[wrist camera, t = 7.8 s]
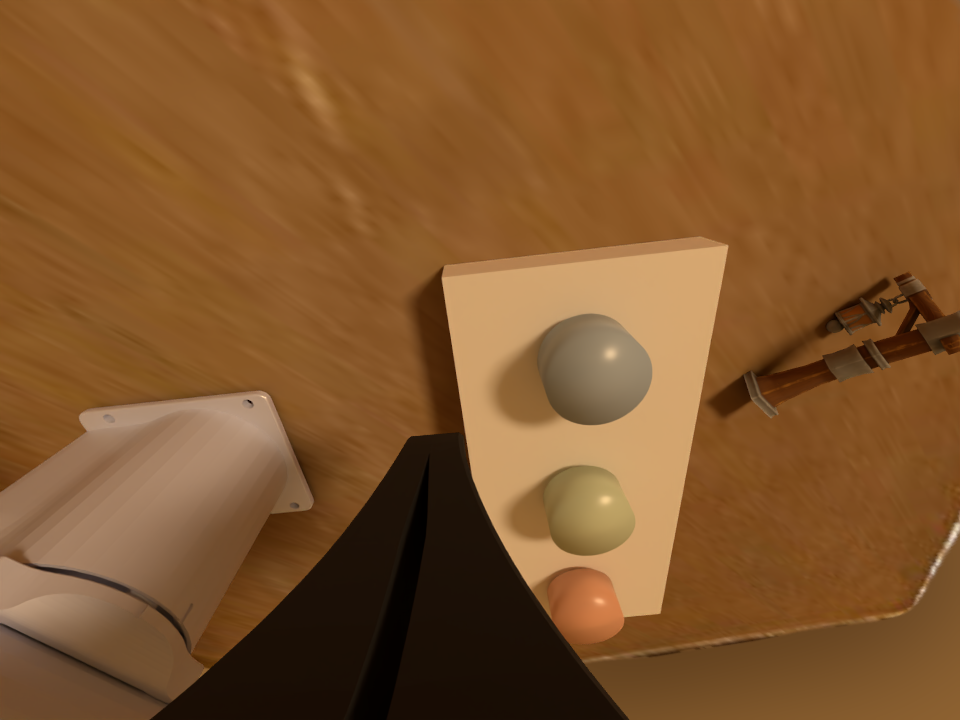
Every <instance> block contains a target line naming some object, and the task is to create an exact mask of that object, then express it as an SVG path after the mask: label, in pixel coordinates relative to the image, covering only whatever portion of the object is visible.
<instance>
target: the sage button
mask: <svg viewBox="0 0 960 720" xmlns="http://www.w3.org/2000/svg"><path fill="white" fill-rule="evenodd" d="M543 503H544V507H545V512H546V516H547V520H548V525H549V529H550V534H551V537H552V540H553V542H554V543H555V544H556V546H557V547H559V548H560V549H561V550H563V551H565V552H567V553H570V554H574V555H579V556H593V555H599V554H603V553H606V552H609V551H611V550H613V549H615V548H617V547H619V546H620V545H622V544H623V543H624V542H625V541H626V540H627V539H628V538H629V537H630V536H631V534H632V533H633V530H634V528H635V515H634V513H633V511H632V509H631V507H630V504H629V502H628V500H627V498H626V496H625V494H624V492H623V490H622V488H621V486H620V483H619V481H618V480H617V478H616V477H615V476H614V475H613V474H612V473H611V472H609V471H608V470H606V469H603V468H600V467H596V466H579V467H574V468H571V469H568V470H565V471H563V472H561V473H560V474H558V475H557V476H555V477H554V478H553V479H552V480H551V481H550V482H549V483H548V485H547V486H546V488H545V491H544V494H543Z"/></svg>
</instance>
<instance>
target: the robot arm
mask: <svg viewBox="0 0 960 720" xmlns="http://www.w3.org/2000/svg"><path fill="white" fill-rule="evenodd" d="M247 400H250V401H252V403H253V404H250V403H248V401H247ZM79 420H80V422H81V423H82V425H83V426H84V427H85V429H86V430H87V432H86V433H84V434H83V435H82V436H80V437H79V438H77V439H76V440H74V441H73V442H72V443H70V444H69V445H67V446H66V447H64V448H63V449H62V450H60V451H59V452H57V453H56V454H55V455H53V456H52V457H50V458H49V459H47V460H46V461H45V462H43V463H42V464H40V465H39V466H37V467H36V468H35V469H33V470H32V471H30V472H29V473H27V474H26V475H25V476H23V477H22V478H20V479H19V480H17V481H16V482H15V483H13V484H12V485H10V486H9V487H7V488H6V489H5V490H3V491H2V492H0V720H629V719H628V717H627V716H626V715H625V714H624V713H623V712H622V710H621V709H620V708H619V707H618V706H617V704H616V703H615V702H614V701H613V700H612V698H611V697H610V696H609V695H608V693H607V692H606V691H605V690H604V688H603V687H602V686H601V685H600V683H599V682H598V681H597V680H596V678H595V677H594V676H593V675H592V673H591V672H590V671H589V670H588V668H587V667H586V666H585V664H584V663H583V662H582V660H581V659H580V658H579V656H578V655H577V654H576V652H575V651H574V650H573V648H572V647H571V646H570V644H569V643H568V642H567V641H566V639H565V638H564V637H563V635H562V634H561V633H560V631H559V630H558V628H557V627H556V625H555V624H554V622H553V621H552V620H551V618H550V617H549V615H548V614H547V612H546V611H545V609H544V608H543V607H542V605H541V604H540V602H539V601H538V599H537V598H536V596H535V595H534V593H533V592H532V591H531V589H530V588H529V586H528V585H527V583H526V581H525V580H524V578H523V577H522V575H521V573H520V572H519V570H518V568H517V567H516V565H515V564H514V562H513V560H512V558H511V557H510V555H509V553H508V552H507V550H506V548H505V546H504V545H503V543H502V541H501V539H500V537H499V535H498V533H497V532H496V530H495V528H494V526H493V524H492V522H491V520H490V518H489V516H488V513H487V511H486V509H485V507H484V505H483V503H482V500H481V498H480V496H479V493H478V491H477V488H476V486H475V483H474V481H473V478H472V475H471V472H470V469H469V466H468V463H467V459H466V452H465V444H464V436H463V435H462V434H460V433H459V432H458V433H446V434H434V435H423V436H411V437H410V438H409V439H408V440H407V441H406V443H405V445H404V447H403V448H402V450H401V451H400V453H399V455H398V456H397V458H396V460H395V461H394V463H393V464H392V466H391V467H390V469H389V471H388V472H387V474H386V475H385V477H384V478H383V480H382V481H381V483H380V484H379V485H378V487H377V488H376V490H375V491H374V493H373V494H372V496H371V497H370V498H369V500H368V501H367V503H366V504H365V505H364V507H363V508H362V509H361V511H360V512H359V513H358V514H357V516H356V517H355V518H354V520H353V521H352V522H351V524H350V525H349V526H348V527H347V529H346V530H345V531H344V533H343V534H342V535H341V536H340V538H339V539H338V540H337V541H336V542H335V544H334V545H333V546H332V547H331V548H330V550H329V551H328V552H327V553H326V554H325V555H324V557H323V558H322V559H321V560H320V561H319V562H318V563H317V564H316V566H315V567H314V568H313V569H312V570H311V571H310V572H309V573H308V574H307V576H306V577H305V578H304V579H303V580H302V581H301V582H300V583H299V584H298V585H297V586H296V587H295V588H294V589H293V590H292V591H291V592H290V593H289V594H288V595H287V596H286V597H285V598H284V599H283V601H282V602H281V603H280V604H279V605H278V606H277V607H276V608H275V609H274V610H273V611H272V612H271V613H270V614H269V615H268V616H267V617H266V618H265V619H264V620H263V621H262V622H260V623H259V624H258V625H257V626H256V627H255V628H254V629H253V630H252V631H251V632H250V633H249V634H248V635H247V636H246V637H244V638H243V639H242V640H241V641H240V642H239V643H238V644H237V645H236V646H235V647H233V648H232V649H231V650H230V651H229V652H228V653H227V654H226V655H225V656H223V657H222V658H221V659H220V660H219V661H218V662H217V663H216V664H215V665H214V666H212V667H211V668H210V669H209V670H208V671H207V672H206V673H205V674H204V675H203V676H201V677H200V675H201V673H202V671H203V669H204V666H203V665H202V664H201V663H199V662H198V661H196V660H195V659H194V658H193V657H192V656H191V653H192V651H193V649H194V647H195V646H196V644H197V642H198V640H199V639H200V637H201V635H202V633H203V632H204V630H205V628H206V626H207V624H208V623H209V621H210V619H211V617H212V616H213V614H214V612H215V610H216V609H217V607H218V605H219V603H220V601H221V600H222V598H223V596H224V594H225V593H226V591H227V589H228V587H229V586H230V584H231V582H232V580H233V578H234V577H235V575H236V573H237V571H238V570H239V568H240V566H241V564H242V563H243V561H244V559H245V557H246V555H247V554H248V552H249V550H250V548H251V547H252V545H253V543H254V541H255V540H256V538H257V536H258V534H259V532H260V531H261V529H262V527H263V525H264V524H265V522H266V520H267V518H268V517H269V515H270V514H275V513H285V512H295V511H305V510H309V509H310V508H311V507H312V505H313V503H314V499H313V496H312V494H311V492H310V489H309V487H308V485H307V482H306V480H305V477H304V475H303V473H302V470H301V468H300V466H299V463H298V461H297V458H296V456H295V454H294V451H293V449H292V447H291V444H290V442H289V439H288V437H287V435H286V432H285V430H284V428H283V425H282V423H281V420H280V418H279V416H278V413H277V411H276V408H275V406H274V404H273V401H272V399H271V397H270V396H269V395H268V394H267V393H266V392H263V391H250V392H241V393H232V394H222V395H213V396H204V397H195V398H185V399H176V400H167V401H157V402H148V403H139V404H129V405H120V406H111V407H101V408H92V409H87V410H85V411H84V412H82V413H81V414H80V415H79ZM199 677H200V678H199Z"/></svg>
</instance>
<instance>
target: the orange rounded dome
mask: <svg viewBox="0 0 960 720" xmlns="http://www.w3.org/2000/svg"><path fill="white" fill-rule="evenodd" d="M547 596H548V601H549V607H550V612H551V618H552V621H553V622H554V624H555V625H556V627H557V628H558V630H559V631H560V633H561V634H562V635H563V637H564V638H565V639H566V641H567V642H568V643H573V644H593V643H598V642H601V641H604V640H607V639H609V638H611V637H613V636H614V635H615V634H617V633H618V632H619V631H620V630H621V628H622V627H623V625H624V616H623V613H622V610H621V607H620V604H619V602H618V599H617V596H616V593H615V590H614V587H613V584H612V581H611V579H610V578H609V577H608V576H607V575H606V574H604V573H602V572H600V571H597V570H593V569H577V570H572V571H569V572H566V573H563V574H561V575H559V576H558V577H556V578H555V579H554V580H553V581H552V582H551V583H550V585H549V586H548V589H547Z"/></svg>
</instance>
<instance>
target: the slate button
mask: <svg viewBox="0 0 960 720" xmlns="http://www.w3.org/2000/svg"><path fill="white" fill-rule="evenodd" d="M537 366H538V371H539V374H540V377H541V380H542V383H543V386H544V389H545V392H546V395H547V398H548V400H549V402H550V405H551V406H552V408H553V409H554V410H555V411H556V412H557V413H558V414H559V415H560V416H561V417H563V418H564V419H566V420H568V421H570V422H573V423H576V424H581V425H601V424H606V423H610V422H613V421H615V420H618V419H620V418H622V417H623V416H625V415H627V414H628V413H630V412H631V411H632V410H633V409H635V408H636V407H637V406H638V405H639V404H640V402H641V401H642V400H643V398H644V397H645V395H646V394H647V392H648V390H649V387H650V384H651V381H652V364H651V360H650V358H649V355H648V353H647V352H646V351H645V349H644V348H643V347H642V346H641V345H640V344H639V343H638V342H637V341H636V340H635V339H634V338H633V336H632V335H631V334H630V333H629V332H628V331H627V330H626V329H625V328H624V327H623V326H622V325H621V324H620V323H619V322H617V321H616V320H614V319H612V318H610V317H608V316H605V315H601V314H592V313H591V314H581V315H577V316H573V317H571V318H568V319H566V320H564V321H563V322H561V323H559V324H558V325H557V326H555V327H554V328H553V329H552V330H551V331H550V332H549V333H548V334H547V336H546V337H545V339H544V340H543V342H542V344H541V346H540V349H539V352H538V357H537Z"/></svg>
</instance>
